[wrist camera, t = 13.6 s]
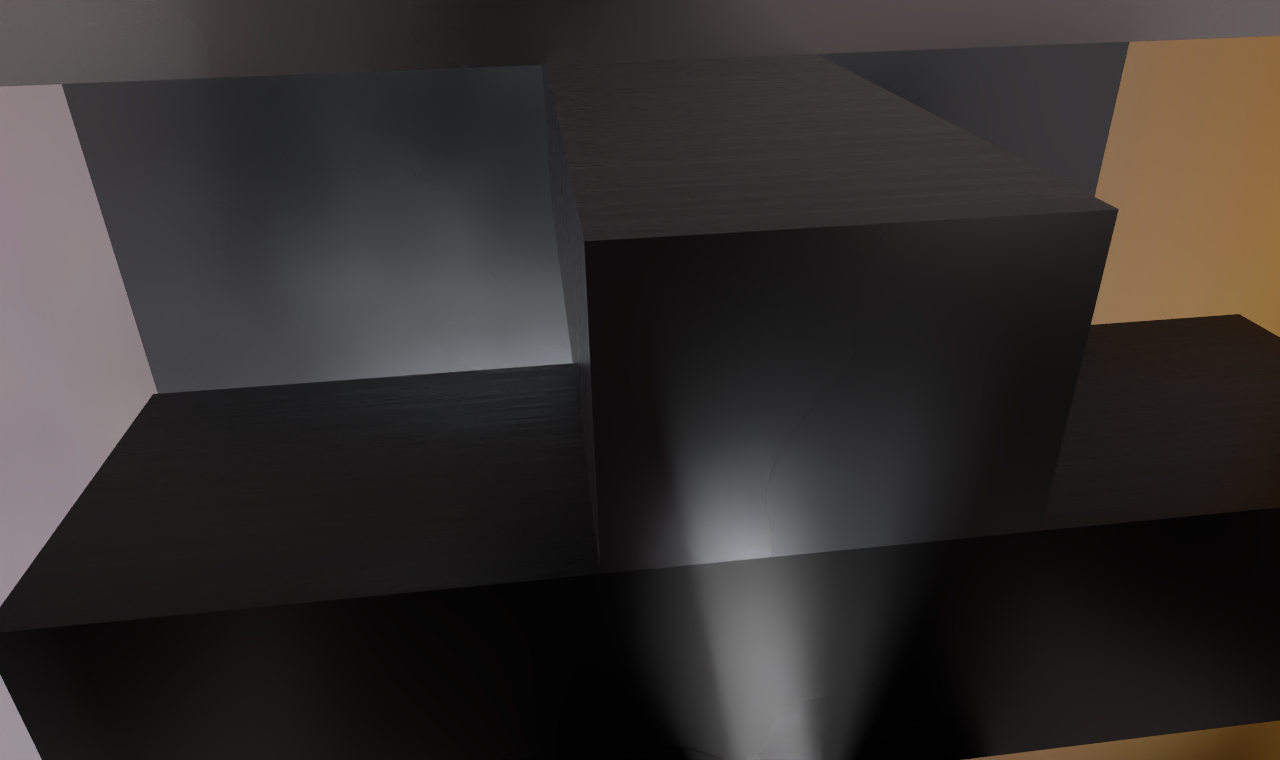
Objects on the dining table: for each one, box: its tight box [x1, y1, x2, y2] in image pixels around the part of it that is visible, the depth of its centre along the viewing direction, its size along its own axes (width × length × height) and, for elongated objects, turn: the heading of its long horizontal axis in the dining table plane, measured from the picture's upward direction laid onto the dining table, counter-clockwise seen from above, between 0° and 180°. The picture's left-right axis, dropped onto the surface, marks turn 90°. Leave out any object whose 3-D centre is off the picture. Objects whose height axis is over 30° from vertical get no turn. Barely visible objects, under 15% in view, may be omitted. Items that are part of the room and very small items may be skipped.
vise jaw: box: [0, 0, 1280, 760], centre depth 7 cm, size 12×6×7 cm, turn 91°
